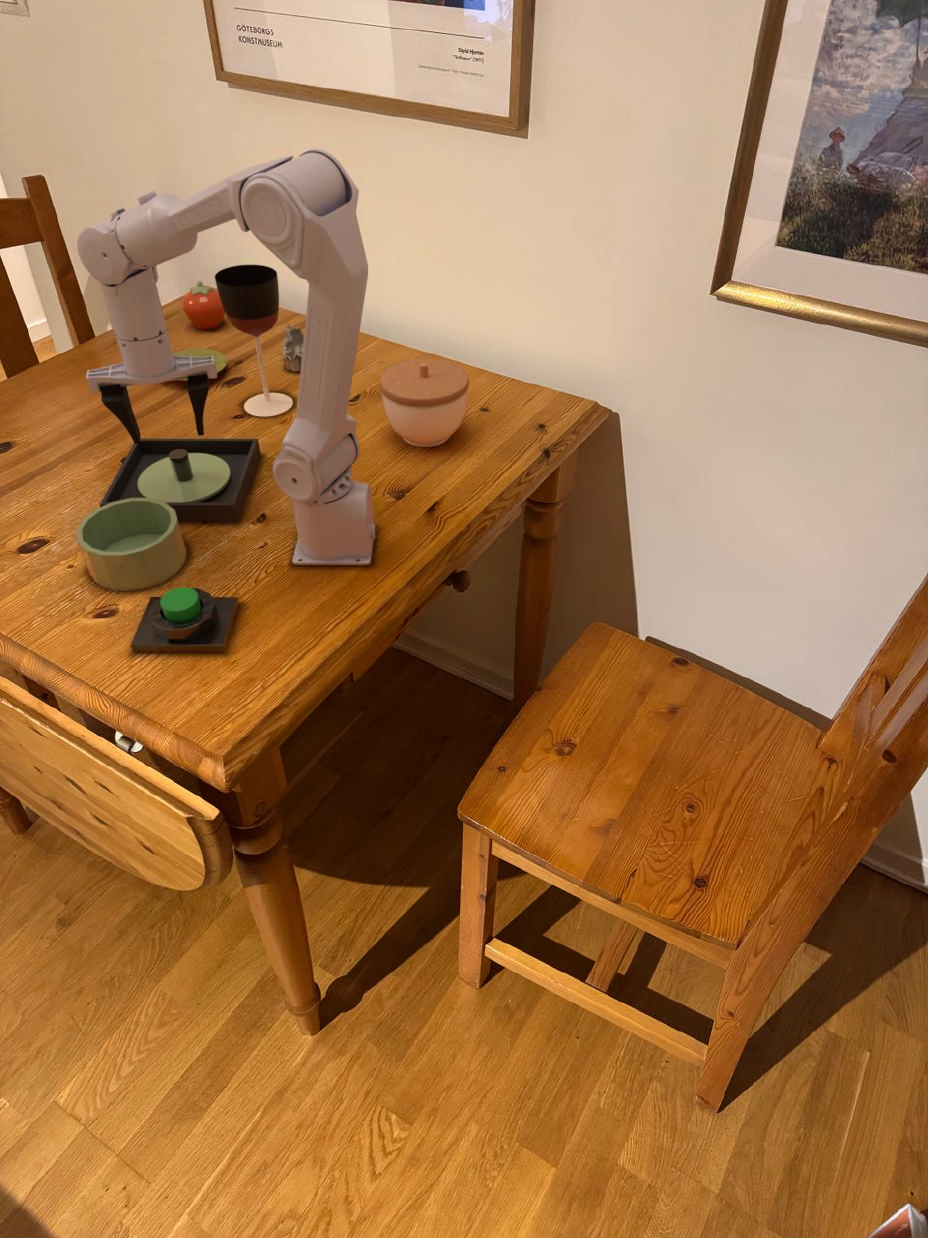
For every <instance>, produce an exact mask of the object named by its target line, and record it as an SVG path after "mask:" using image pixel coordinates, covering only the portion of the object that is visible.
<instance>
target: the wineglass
mask: <svg viewBox="0 0 928 1238" xmlns="http://www.w3.org/2000/svg"><path fill="white" fill-rule="evenodd" d="M214 281H215V284H216V290H217V291H218V293H219V296H220V300H221V303H222V306H223V308H224V311H225V316H226V318H227V319H228V321H229V323H230V324H231V326H232V327H233V328H235V329H236V330H238V331H240V332H242V333H245V334H248V335H250V336H253V338H254V344H255V350H256V356H257V362H258V368H259V372H260V378H261V384H262V390H263V393H260V394H257V395H253V396H252V397H249V398H248V399H247V400H246V401H245V403H244V405H243V409H244V411H245V412H246V413H247V414H249V415H251V416H257V417H273V416H278V415H281V414H283V413H285V412H287V411H289V410H290V409H291V408H292V406H293V405H294V401H293V399H292V398H291V397H290V396H289V395H286V394H284V393H280V392H270V391H269V385H268V380H267V373H266V367H265V361H264V355H263V350H262V344H261V337H260V336H261V335H262V334H265V333H266V332H268V331H270V330H271V329H273V328H274V326H275V325H276V324H277V321H278V319H279V313H280V288H279V278H278V272H277V271H276V269H274V268H273V267H271V266H266V265H261V264H239V265H233V266H228V267H225V268H223V269H221V270H219V271H217V272H216V273H215V274H214Z"/></svg>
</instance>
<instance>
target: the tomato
mask: <svg viewBox="0 0 928 1238" xmlns="http://www.w3.org/2000/svg"><path fill="white" fill-rule="evenodd" d="M189 290H190V291H188V292H187V293H185V296H184V297H183V299H182V309H183V312H184V315H185V316H186V317H187V319H188V320H189V321H190V322H191V323H192V324H193V325H194V326H195V327H196V328H198V329H200V330H213V329H216V328H217V327H220V324H222V322H223V320H224V318H225V316H226V313H225V311H224V308H223V306H222V303H221V300H220V296H219V293H218V289H214V288H213V287H212V286H209V285H206V284H203V282H202V281H201V280H198V281H197V282H196V285H195V286H193V287H190V289H189Z"/></svg>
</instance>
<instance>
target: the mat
mask: <svg viewBox="0 0 928 1238" xmlns="http://www.w3.org/2000/svg"><path fill="white" fill-rule="evenodd" d="M173 354H174V356H190V357H209V356H214V360H215V365H216V370H217V373H219V372H221V371H222V370H223V369H224V368H225V367H226V366H227V364H228V359H227V357H226V355H225V354H224V353H222V352H220V351H218V350H215V349H210V348H203V347H202V348H188V349H182V350H179V351H175V352H173ZM181 381H185V382H186V381H187V379H182V380H181Z"/></svg>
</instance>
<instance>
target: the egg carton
mask: <svg viewBox="0 0 928 1238" xmlns="http://www.w3.org/2000/svg"><path fill="white" fill-rule="evenodd" d="M303 342H304V333H302V329H301V328H300V327H299V326H293V327H292V326H290V324H289V323H287V324H286V326H285V329H284V338H283V345H282V354H283V359H284V360H285V362H286V370H289V371H292V372H301V362H302V352H303Z"/></svg>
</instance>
